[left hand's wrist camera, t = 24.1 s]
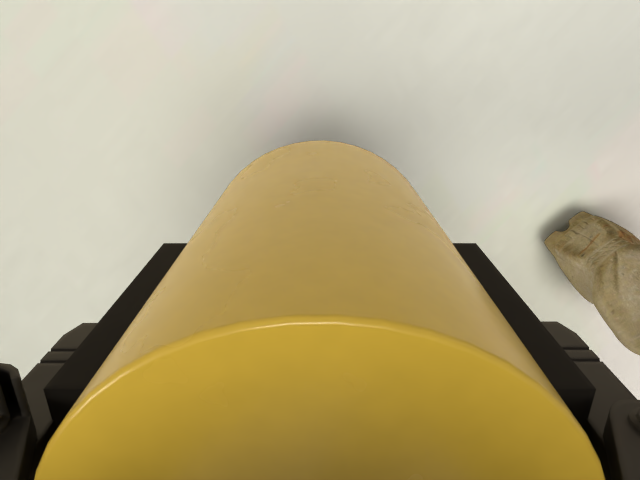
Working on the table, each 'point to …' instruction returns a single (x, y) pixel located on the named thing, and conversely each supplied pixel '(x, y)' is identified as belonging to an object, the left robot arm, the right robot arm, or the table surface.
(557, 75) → the table surface
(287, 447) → the can
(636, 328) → the sculpture
